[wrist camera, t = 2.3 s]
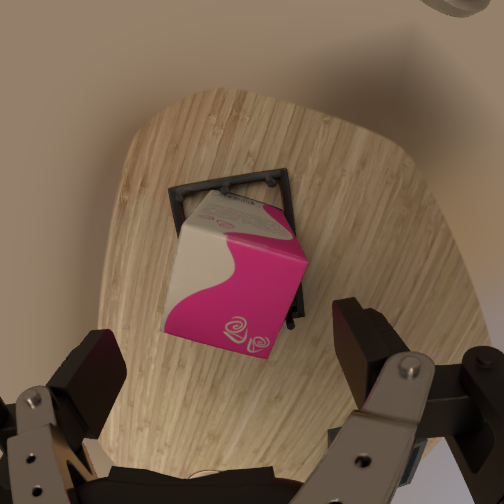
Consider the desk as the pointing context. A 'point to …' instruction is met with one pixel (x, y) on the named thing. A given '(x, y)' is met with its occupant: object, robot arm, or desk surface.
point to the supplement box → (233, 275)
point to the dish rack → (186, 190)
